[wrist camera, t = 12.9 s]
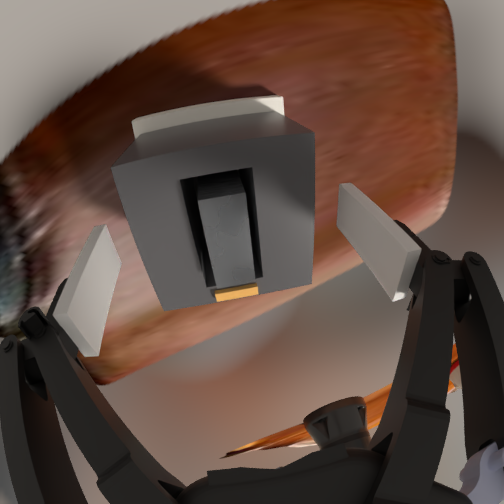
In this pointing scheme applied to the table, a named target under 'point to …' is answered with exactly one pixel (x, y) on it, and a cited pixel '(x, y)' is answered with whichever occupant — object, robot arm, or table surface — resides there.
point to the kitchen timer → (455, 375)
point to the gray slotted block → (187, 209)
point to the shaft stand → (219, 189)
